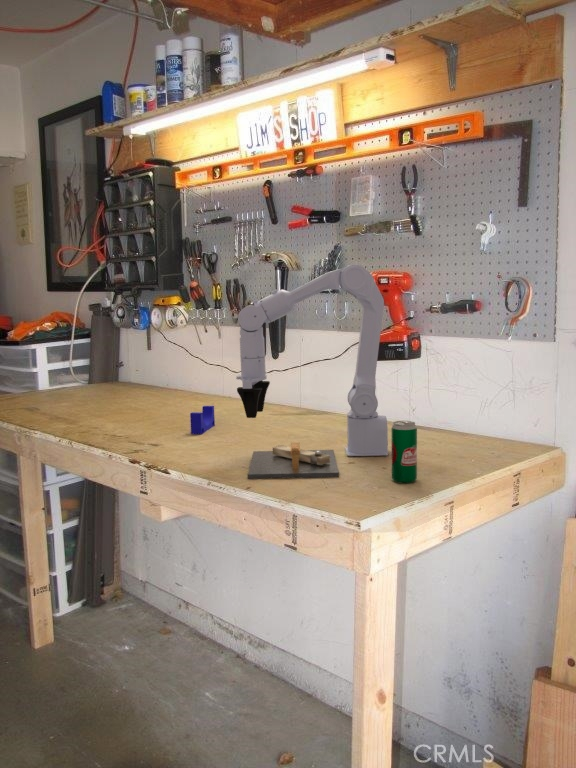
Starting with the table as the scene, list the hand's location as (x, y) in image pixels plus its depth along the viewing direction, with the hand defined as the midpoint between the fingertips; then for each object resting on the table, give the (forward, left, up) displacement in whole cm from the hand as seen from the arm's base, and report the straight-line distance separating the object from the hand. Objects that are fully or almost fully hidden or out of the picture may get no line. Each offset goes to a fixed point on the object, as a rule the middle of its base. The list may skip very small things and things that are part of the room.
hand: (254, 414), depth 161 cm
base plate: (-9, +10, -10) cm, 17 cm away
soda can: (-31, +24, -10) cm, 41 cm away
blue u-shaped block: (+17, -31, -10) cm, 37 cm away
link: (-10, +9, -8) cm, 16 cm away
